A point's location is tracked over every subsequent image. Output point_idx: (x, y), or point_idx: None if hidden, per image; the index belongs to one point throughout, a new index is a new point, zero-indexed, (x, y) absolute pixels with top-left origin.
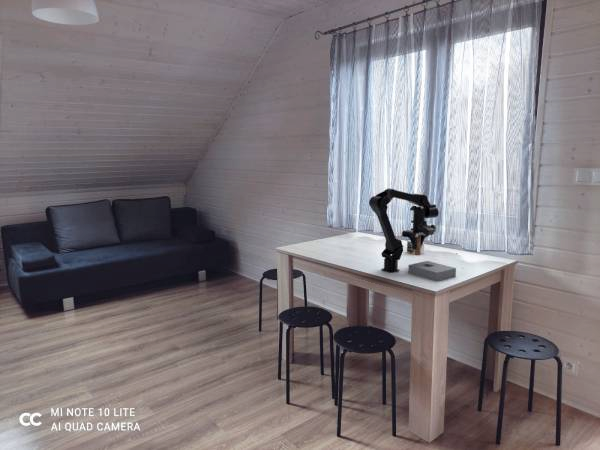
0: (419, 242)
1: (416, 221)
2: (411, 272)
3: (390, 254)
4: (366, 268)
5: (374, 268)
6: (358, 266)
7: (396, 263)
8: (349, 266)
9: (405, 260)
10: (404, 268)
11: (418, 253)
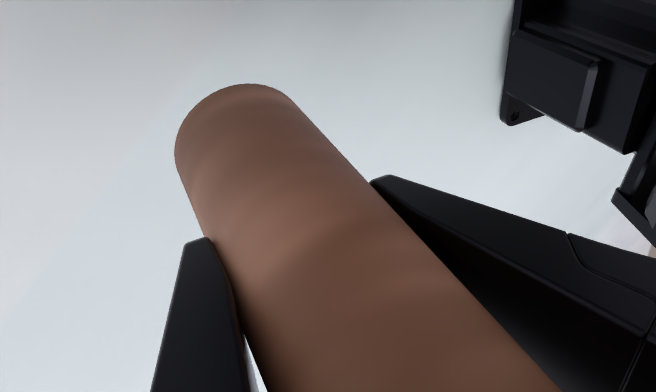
0: (438, 305)
1: None
2: None
3: (635, 202)
4: (624, 174)
5: (590, 156)
6: (610, 236)
7: (632, 10)
8: (641, 247)
9: (125, 365)
10: (388, 53)
11: (282, 105)
